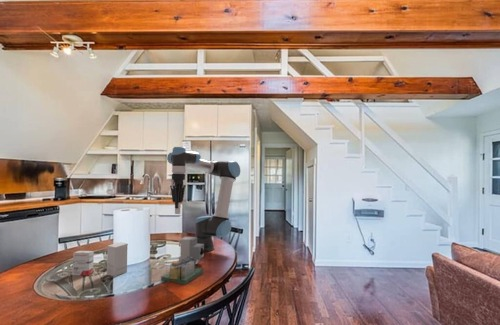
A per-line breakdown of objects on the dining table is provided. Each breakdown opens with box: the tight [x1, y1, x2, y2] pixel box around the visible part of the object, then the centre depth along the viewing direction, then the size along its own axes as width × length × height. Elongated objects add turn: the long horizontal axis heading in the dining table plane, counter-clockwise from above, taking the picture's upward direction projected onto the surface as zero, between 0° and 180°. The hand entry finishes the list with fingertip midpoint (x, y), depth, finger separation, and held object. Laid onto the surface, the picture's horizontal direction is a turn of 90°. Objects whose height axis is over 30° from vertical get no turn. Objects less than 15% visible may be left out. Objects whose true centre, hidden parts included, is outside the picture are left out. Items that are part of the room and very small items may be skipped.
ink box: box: [72, 250, 95, 277], centre depth 152 cm, size 8×5×12 cm, turn 89°
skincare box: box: [106, 241, 129, 278], centre depth 153 cm, size 8×7×16 cm
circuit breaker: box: [178, 236, 206, 264], centre depth 171 cm, size 8×14×15 cm, turn 78°
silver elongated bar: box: [170, 256, 194, 266], centre depth 150 cm, size 16×4×2 cm, turn 161°
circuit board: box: [160, 259, 204, 286], centre depth 150 cm, size 18×14×7 cm
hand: (177, 213), depth 167 cm, fingers closed
